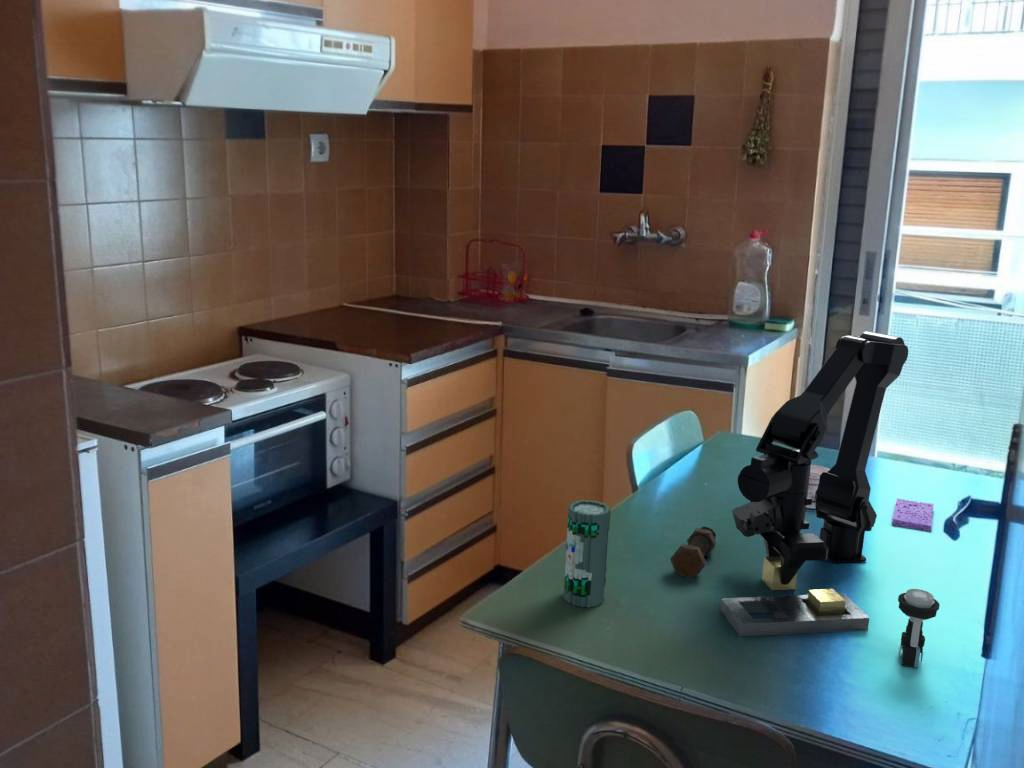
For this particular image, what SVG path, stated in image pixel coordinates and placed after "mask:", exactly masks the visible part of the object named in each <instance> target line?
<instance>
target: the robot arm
mask: <svg viewBox="0 0 1024 768" xmlns="http://www.w3.org/2000/svg"><path fill="white" fill-rule="evenodd" d="M908 357H909V348H908V346H907V345H906V344H905V341H904V339H903V338H902V337H900V336H893V335H890V334H889V335H888V334H884V333H879V332H874V331H868V330H867V331H863V332H862V334H860V336H859V335H845V336H840V337H839V338H838V340H837V341H836V343H835V349H834V350H833V352H832V353H831V355H830V356H829V357H828V359H827V360H826V361H825V363H824V364H823V365H822V367H821V368H820V369H819V371H818V372H817V374H816V375H815V376H814V378H813V379H812V380H811V382H809V384H808V385H807V387H806V388H805V390H804V391H803V392H802V393H801V394H800V395H799V396H798V395H797V396H796V397H793V398H791V399H788V400H786V401H785V402H784V403H783V404H782V405H781V406H780V407H779V409H777V411H776V412H774V414H773V415H772V416H771V418H770V420H769V422H768V425H767V426H766V428H765V430H764V432H763V434H762V435H761V438H760V441H759V442H758V444H757V446H756V448H755V452H757V453H761V454H762V455H755V456H753V457H751V459H750V464H749V465H746V466H744V467H743V468H742V469H740V472H739V474H738V476H737V486H738V489H739V491H740V493H741V494H742V496H743V497H744V498H745V499H746V500H748V501H750V502H748V503H745V504H743V505H740V506H737V507H735V508H733V509H732V511H731V512H732V516H733V519H734V524H735V527H736V529H737V531H739V532H741V535H743V536H744V537H746V538H750V537H753V536H755V535H759V536H761V537H762V538H763V539H762V540H763V542H764V546H765V550H766V551H765V553H766V557H773V556H780V560H781V583H782V584H783V585H788V584H789V583H790V581H791V580H792V579H793V577H794V576H795V574H796V573H797V574H798V572H799V570H800V569H801V568H802V566H803V565H804V564H805V563H806V562H811V561H812V562H813V561H814V562H815V561H816V562H817V561H818V562H819V561H827V560H829V561H830V562H831V563H834V564H836V563H856V562H857V563H859V562H866V561H867V557H865V556H864V555H863V549H864V541H865V532H871V531H872V530H873V529H872V528H874V526H875V524H876V520H877V516H878V515H877V513H876V511H875V509H874V507H873V505H872V504H871V501H870V496H871V485H870V482H869V479H868V477H867V472H866V468H867V464H868V460H869V457H870V453H871V449H872V444H873V441H874V437H875V433H876V430H877V426H878V422H879V417H880V414H881V411H882V410H881V409H882V405H883V403H884V402H883V401H884V397H885V394H886V390H887V388H888V387H889V386H891V385H892V384H893V383H894V382H895V380H897V379H898V378H899V377H900V375H901V373H902V369H903V367H904V365H905V364H906V362H907V360H908ZM853 379H855V387H854V390H853V393H852V397H851V400H850V401H851V402H850V406H849V410H848V413H847V417H846V422H845V426H844V428H843V429H844V430H843V433H842V438H841V442H840V445H839V450H838V452H837V457H836V460H835V464H834V465H833V466H832V467H830V468H829V469H830V470H829V471H828V472H823V473H822V474H821V475H820V480H819V485H818V488H817V490H816V492H815V501H814V503H815V507H816V509H815V515H816V518H818V519H822V520H823V525H822V527H821V528H820V530H819V531H820V532H819V537H818V536H817V534H815V533H802V532H801V530H809V529H810V522H808V520H807V519H805V518H806V510H807V508H806V505H812V503H813V501H812V498H810V497H809V496H808V486H809V477H810V469H811V464H812V461H813V460H815V459H818V457H819V453H818V452H817V451H816V450H817V448H818V447H819V445H821V442H822V441H823V439H824V435H825V433H827V430H828V414H829V413H830V411H831V410H832V408H833V407H834V406H835V404H836V403H837V401H838V400H839V399H840V398H841V396H842V395H843V393H844V392H845V390H846V389H848V387H849V385H850V384H851V382H852V381H853ZM774 443H776V444H774ZM777 444H779V445H777ZM780 445H781V446H780ZM787 447H789V448H787Z"/></svg>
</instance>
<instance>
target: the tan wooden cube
mask: <svg viewBox="0 0 1024 768" xmlns="http://www.w3.org/2000/svg"><path fill="white" fill-rule="evenodd" d="M839 594H840V593H838V592H837V591H836V590H835V589H834V588H823V589H822V588H821V589H820V588H819V589H808V591H807V595H808V599H807V606H808V607H809V609H810V610H811V611H812V612H813V613H814V614H815V615H816V616H831V615H844V610H845V602H846V601H845V600H844V599H843V598H842V597H841V596H840V595H839Z"/></svg>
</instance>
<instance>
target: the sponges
mask: <svg viewBox="0 0 1024 768" xmlns="http://www.w3.org/2000/svg"><path fill="white" fill-rule="evenodd" d="M893 511H894V512H893V515H892V521H891V524H892V525H893V526H895V527H896V526H897V527H900V528H901V527H902V528H907V529H915V530H920V531H926V532H932V526H933V524H932V523H933V515H934V503H929V502H923V501H921V502H920V501H919V502H918V501H915V500H909V499H905V498H904V499H903V498H899V497H898V498H896V501H895V505H894V510H893Z"/></svg>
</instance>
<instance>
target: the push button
mask: <svg viewBox="0 0 1024 768" xmlns="http://www.w3.org/2000/svg"><path fill="white" fill-rule="evenodd" d="M897 601H898V609H899V610H900V611H901V612H902V613H903V614H904V615H905V616H906V617H908V621H907V625H906V627H905V631H903V632H901V638H900V645H899V650H898V658H899V659H900V658H901V666H904V667H910V668H916V669H918V668H919V662H923V658H924V651H923V650H924V648H923V647H925V642H926V636H924V635H923V634H924V633H923V628H924V627H923V626H924V621H927V620H929V619H930V620H931V619H932V618H935V617H937V612H938V611H939V609H940V606H941V605H940V602H939V601H938V600H936V599H935V598H934V595H933V594H932V593H931V592H929V591H926V590H923V589H919V588H909V589H907V590H906V591H905V592H903V593H901V594H899V595H898V597H897ZM901 651H902V652H901ZM901 653H902V656H901Z"/></svg>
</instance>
